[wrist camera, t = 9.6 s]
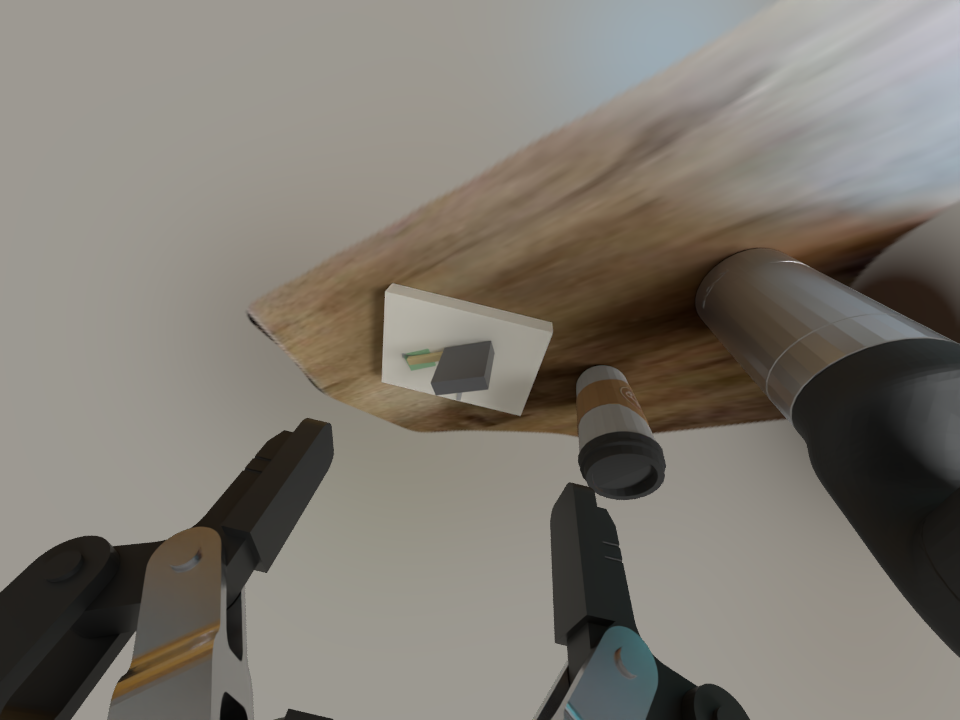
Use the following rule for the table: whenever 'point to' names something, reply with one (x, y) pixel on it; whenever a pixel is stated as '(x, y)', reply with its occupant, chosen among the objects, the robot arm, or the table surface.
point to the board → (452, 322)
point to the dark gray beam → (460, 367)
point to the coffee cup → (615, 437)
